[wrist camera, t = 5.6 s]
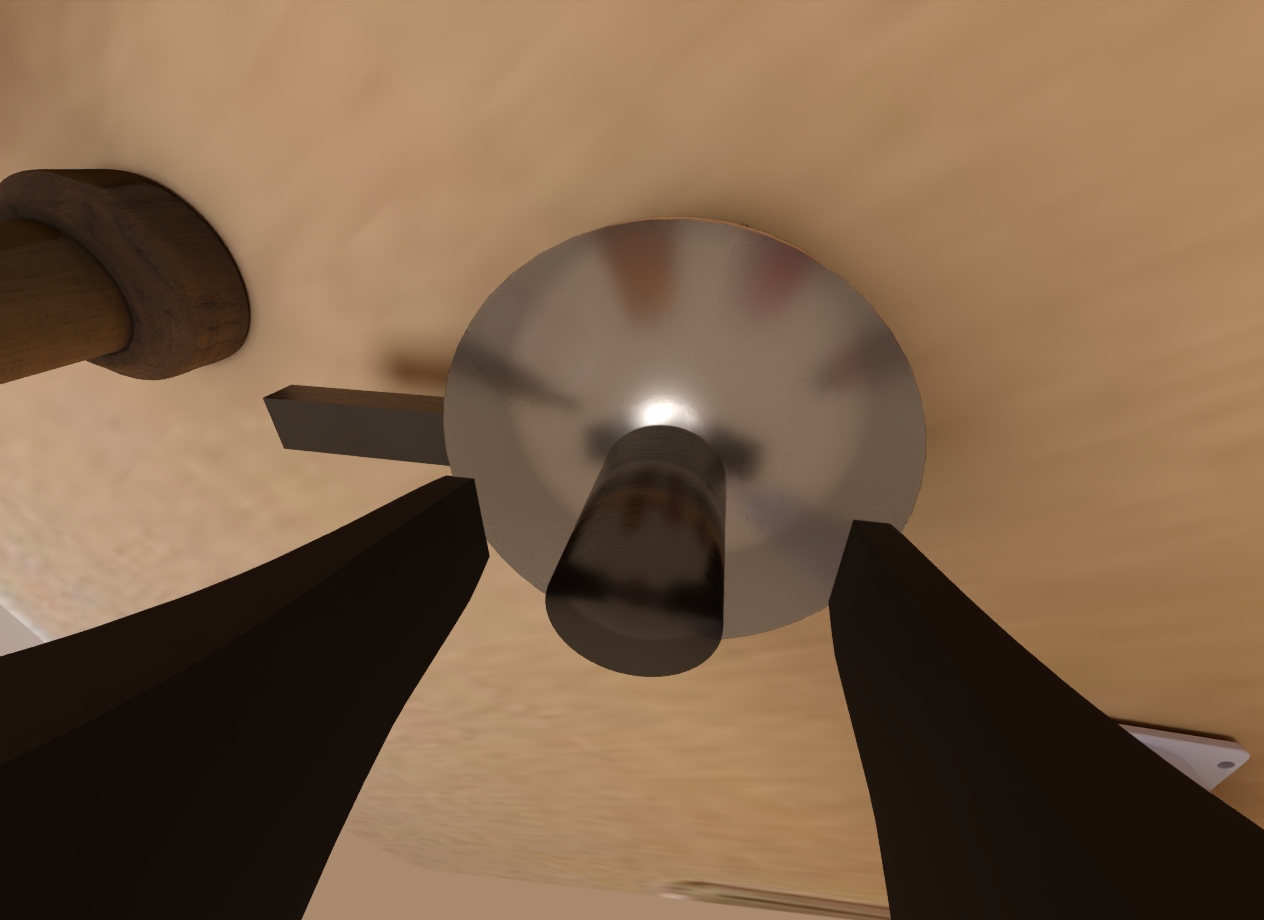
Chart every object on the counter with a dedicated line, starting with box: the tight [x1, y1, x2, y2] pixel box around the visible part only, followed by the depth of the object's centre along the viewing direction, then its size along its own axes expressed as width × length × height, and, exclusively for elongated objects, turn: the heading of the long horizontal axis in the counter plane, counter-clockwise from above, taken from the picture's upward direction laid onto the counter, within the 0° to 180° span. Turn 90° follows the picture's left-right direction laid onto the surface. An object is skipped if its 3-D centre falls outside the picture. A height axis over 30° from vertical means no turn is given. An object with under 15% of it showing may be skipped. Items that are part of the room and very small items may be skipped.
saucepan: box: [263, 224, 750, 466], centre depth 14 cm, size 10×16×5 cm, turn 90°
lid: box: [443, 216, 926, 677], centre depth 10 cm, size 11×11×6 cm
